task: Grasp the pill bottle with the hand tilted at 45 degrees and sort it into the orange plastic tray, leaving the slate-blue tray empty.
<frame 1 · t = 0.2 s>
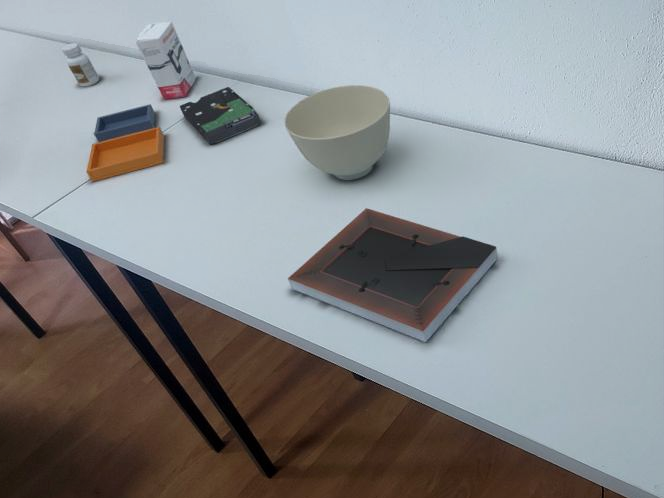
bowl: (353, 170, 103), on the table
picture frame: (395, 277, 83), on the table
orange tray: (130, 158, 114), on the table
pill bottle: (90, 83, 141), on the table
ink box: (180, 89, 132), on the table
disk drive: (223, 122, 120), on the table
slate tray: (128, 128, 123), on the table
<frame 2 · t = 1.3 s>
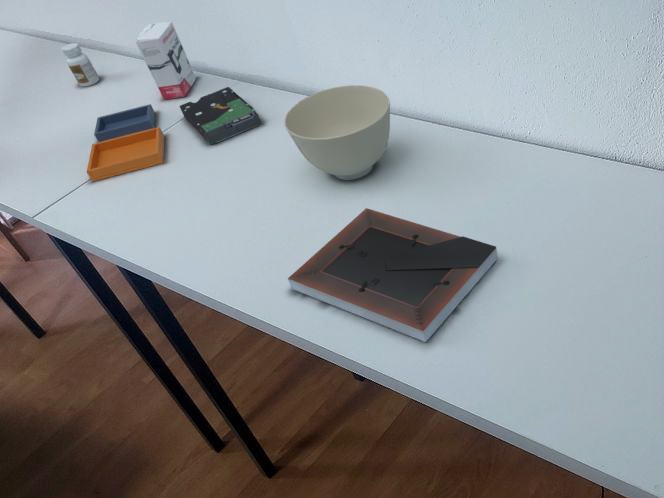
nothing on the table moved.
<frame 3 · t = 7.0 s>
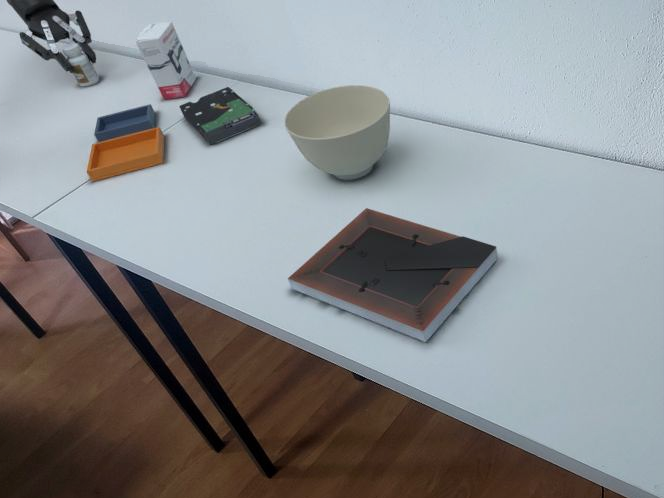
hand: (83, 65, 136), 4 cm above the table, tool tilted 45°, fingers closed on pill bottle, 4 cm apart
pill bottle: (90, 83, 141), on the table, touching gripper
everything else where it was.
when the fingers open (5 cm above the table, at t = 18.4 s): pill bottle stays where it is, resting on orange tray.
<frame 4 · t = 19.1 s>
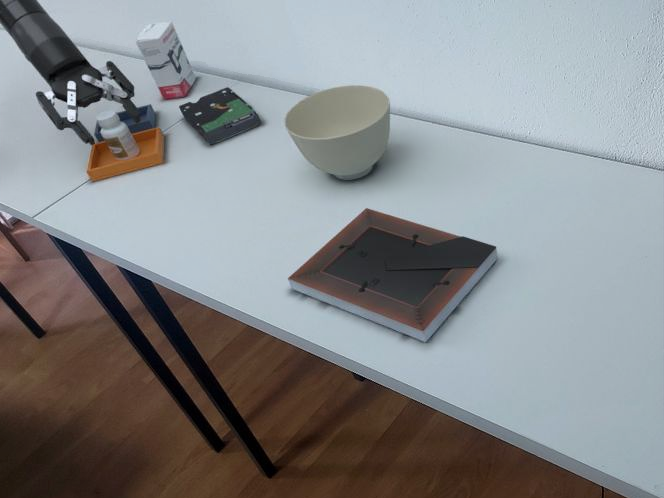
hand: (116, 131, 109), 6 cm above the table, tool tilted 45°, fingers open, 8 cm apart
pill bottle: (129, 156, 114), resting on orange tray
everything else where it was.
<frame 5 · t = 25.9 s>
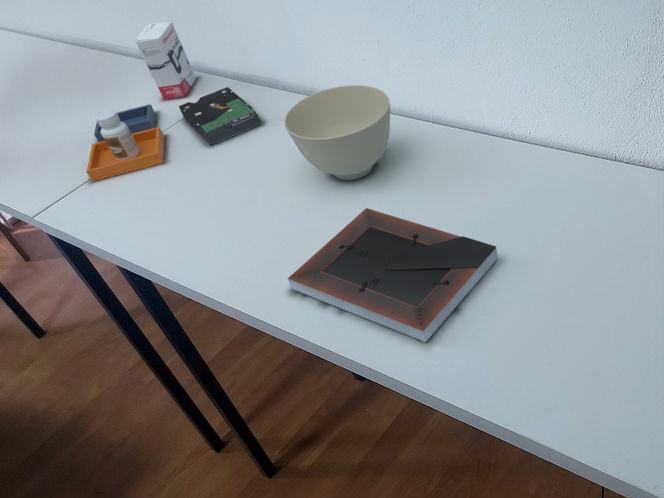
nothing on the table moved.
at the end: pill bottle inside the target area in the orange tray (0.2 cm from its centre), point 0.3 cm above the orange tray's base; pill bottle tilted 0°; the gripper is holding nothing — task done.
